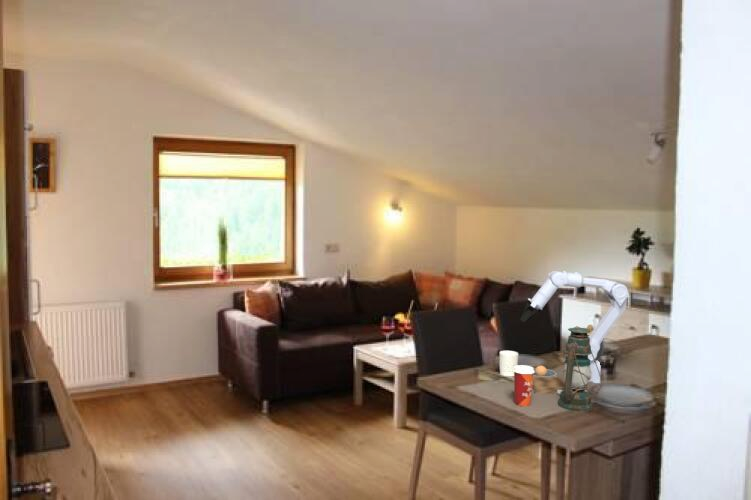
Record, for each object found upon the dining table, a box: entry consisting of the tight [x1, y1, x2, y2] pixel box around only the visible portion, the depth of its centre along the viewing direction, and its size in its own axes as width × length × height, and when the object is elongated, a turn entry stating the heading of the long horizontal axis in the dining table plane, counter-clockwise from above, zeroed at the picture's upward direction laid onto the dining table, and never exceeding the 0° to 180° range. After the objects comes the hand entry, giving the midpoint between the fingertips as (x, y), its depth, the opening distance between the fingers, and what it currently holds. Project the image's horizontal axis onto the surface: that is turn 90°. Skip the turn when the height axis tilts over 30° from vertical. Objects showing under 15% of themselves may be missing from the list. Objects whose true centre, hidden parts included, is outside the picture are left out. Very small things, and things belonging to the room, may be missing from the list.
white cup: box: [499, 350, 519, 377], centre depth 284 cm, size 8×8×10 cm
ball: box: [535, 365, 548, 376], centre depth 280 cm, size 5×5×5 cm
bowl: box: [533, 367, 558, 378], centre depth 280 cm, size 13×13×3 cm
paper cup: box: [513, 364, 535, 407], centre depth 247 cm, size 8×8×14 cm
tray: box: [532, 376, 565, 395], centre depth 267 cm, size 14×14×2 cm
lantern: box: [557, 325, 603, 412], centre depth 245 cm, size 19×14×30 cm
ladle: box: [556, 389, 589, 396], centre depth 262 cm, size 13×4×1 cm, turn 101°
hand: (523, 321), depth 276 cm, fingers open, 7 cm apart
